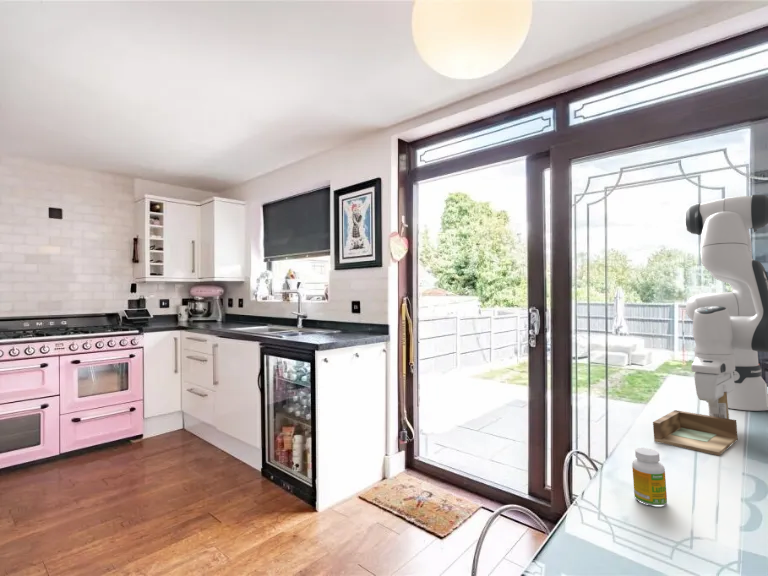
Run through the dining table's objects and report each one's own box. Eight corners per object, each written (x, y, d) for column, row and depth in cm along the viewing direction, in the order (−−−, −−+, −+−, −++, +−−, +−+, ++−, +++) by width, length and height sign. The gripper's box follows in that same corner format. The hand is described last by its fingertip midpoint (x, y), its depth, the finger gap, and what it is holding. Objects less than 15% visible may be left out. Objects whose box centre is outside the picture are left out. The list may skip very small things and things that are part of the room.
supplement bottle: (655, 510, 75) (651, 458, 75) (628, 498, 80) (624, 449, 80) (673, 503, 77) (669, 453, 78) (645, 492, 82) (642, 444, 82)
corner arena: (676, 427, 118) (675, 410, 118) (737, 439, 107) (736, 420, 107) (654, 441, 109) (652, 422, 109) (719, 455, 98) (717, 434, 98)
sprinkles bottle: (732, 431, 113) (729, 383, 114) (727, 434, 111) (723, 386, 111) (713, 427, 117) (709, 381, 118) (707, 430, 115) (703, 383, 115)
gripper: (712, 357, 123) (716, 402, 123) (688, 366, 111) (692, 416, 111) (739, 359, 118) (743, 405, 118) (717, 368, 106) (721, 421, 106)
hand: (718, 411), depth 114 cm, fingers closed on sprinkles bottle, 4 cm apart
